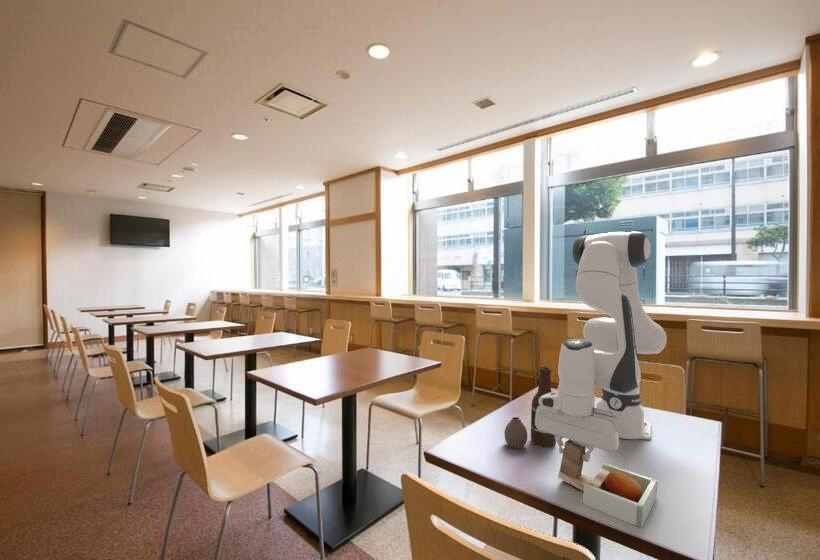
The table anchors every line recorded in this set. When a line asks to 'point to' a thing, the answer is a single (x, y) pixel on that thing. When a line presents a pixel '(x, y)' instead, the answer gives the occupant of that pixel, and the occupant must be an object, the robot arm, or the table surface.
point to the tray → (623, 499)
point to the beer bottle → (544, 388)
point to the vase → (515, 433)
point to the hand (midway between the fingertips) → (573, 456)
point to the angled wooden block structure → (578, 467)
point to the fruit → (623, 486)
